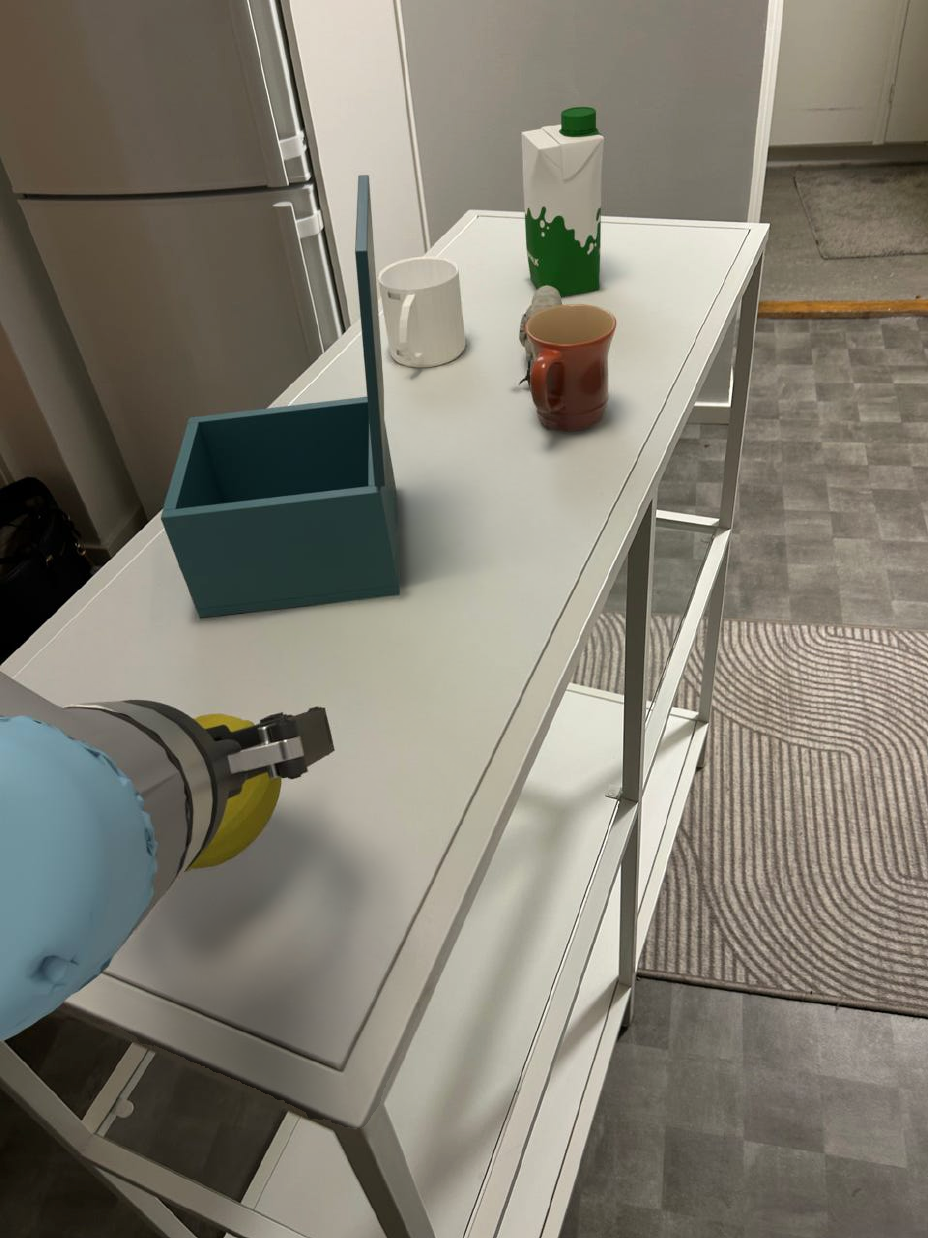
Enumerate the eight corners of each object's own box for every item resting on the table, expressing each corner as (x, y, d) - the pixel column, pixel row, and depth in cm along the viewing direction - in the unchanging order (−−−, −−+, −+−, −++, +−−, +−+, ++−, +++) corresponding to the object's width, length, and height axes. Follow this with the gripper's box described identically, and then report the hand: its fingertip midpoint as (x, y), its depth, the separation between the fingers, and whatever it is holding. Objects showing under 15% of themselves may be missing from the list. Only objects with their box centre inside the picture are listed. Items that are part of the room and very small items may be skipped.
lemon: (225, 749, 62) (191, 666, 57) (323, 784, 59) (298, 701, 54) (117, 881, 55) (68, 802, 50) (223, 928, 52) (182, 849, 47)
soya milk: (608, 291, 117) (611, 117, 103) (540, 304, 116) (533, 130, 102) (586, 265, 123) (585, 99, 110) (520, 278, 122) (512, 111, 109)
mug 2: (552, 389, 100) (549, 298, 93) (627, 404, 96) (630, 310, 89) (499, 446, 93) (492, 351, 86) (579, 464, 89) (578, 367, 82)
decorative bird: (571, 324, 111) (570, 263, 106) (566, 392, 100) (565, 327, 94) (526, 326, 112) (523, 265, 107) (516, 393, 100) (512, 329, 95)
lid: (354, 250, 58) (367, 250, 58) (358, 174, 69) (368, 174, 69) (374, 487, 70) (385, 486, 70) (374, 390, 81) (383, 389, 81)
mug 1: (412, 328, 114) (401, 253, 108) (478, 337, 111) (471, 259, 105) (364, 374, 107) (350, 296, 100) (433, 385, 103) (423, 305, 97)
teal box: (199, 618, 78) (160, 517, 71) (221, 513, 89) (189, 417, 82) (399, 595, 77) (380, 491, 70) (396, 492, 89) (380, 394, 81)
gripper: (-162, 978, 33) (48, 855, 56) (409, 829, 36) (389, 769, 58) (-205, 773, 33) (22, 733, 56) (365, 641, 36) (362, 653, 59)
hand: (209, 752), depth 57 cm, fingers closed on lemon, 8 cm apart
